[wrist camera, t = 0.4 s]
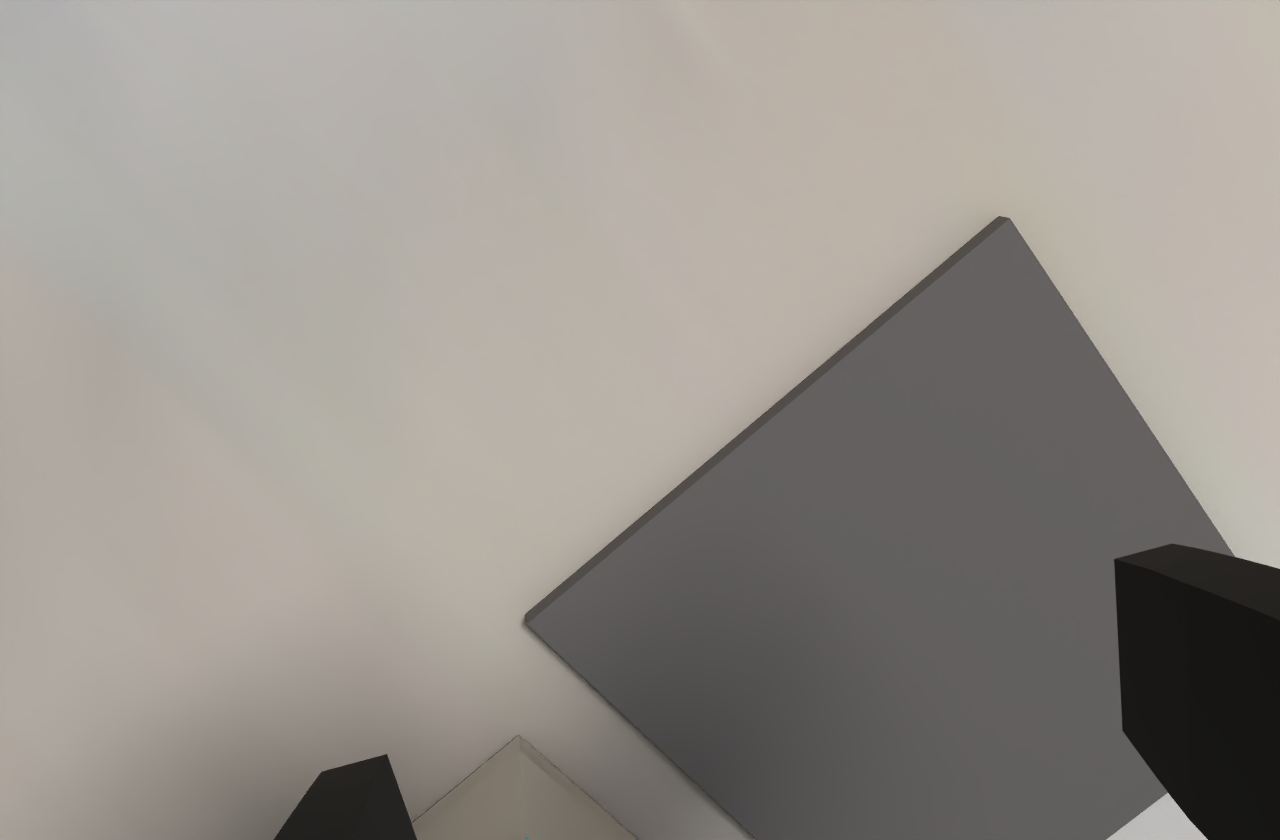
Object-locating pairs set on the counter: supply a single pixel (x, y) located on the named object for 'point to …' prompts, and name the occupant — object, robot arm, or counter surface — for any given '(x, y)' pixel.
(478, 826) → the tub
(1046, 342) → the mat
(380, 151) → the counter surface
